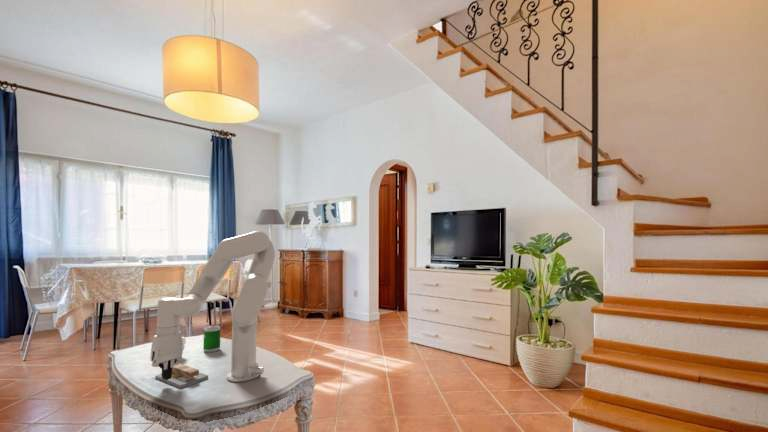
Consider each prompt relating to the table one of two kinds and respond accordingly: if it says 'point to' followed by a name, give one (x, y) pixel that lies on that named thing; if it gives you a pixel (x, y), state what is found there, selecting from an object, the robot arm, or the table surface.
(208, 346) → the soda can
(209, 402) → the table surface
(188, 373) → the swing bar
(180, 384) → the label board
